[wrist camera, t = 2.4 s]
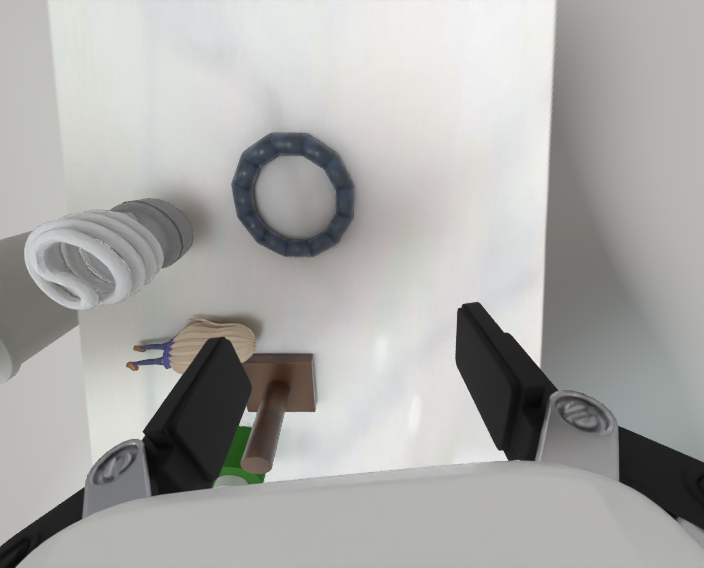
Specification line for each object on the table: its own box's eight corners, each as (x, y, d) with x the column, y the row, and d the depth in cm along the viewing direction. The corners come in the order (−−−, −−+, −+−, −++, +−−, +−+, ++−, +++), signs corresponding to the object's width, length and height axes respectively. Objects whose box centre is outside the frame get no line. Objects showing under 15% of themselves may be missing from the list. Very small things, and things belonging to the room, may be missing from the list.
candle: (245, 419, 38) (215, 502, 30) (283, 446, 42) (266, 528, 33) (206, 439, 41) (167, 522, 32) (245, 463, 44) (219, 544, 35)
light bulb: (135, 193, 23) (-40, 235, 13) (196, 185, 23) (70, 221, 13) (164, 252, 26) (39, 328, 16) (219, 246, 26) (130, 318, 15)
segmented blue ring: (248, 252, 26) (242, 258, 25) (226, 131, 21) (217, 131, 20) (352, 253, 26) (353, 260, 25) (355, 134, 22) (355, 133, 20)
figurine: (136, 386, 30) (259, 375, 28) (100, 377, 27) (238, 364, 25) (154, 338, 33) (266, 325, 32) (124, 324, 30) (248, 308, 28)
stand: (251, 402, 37) (219, 490, 28) (239, 353, 32) (196, 438, 23) (316, 402, 37) (306, 489, 28) (313, 353, 33) (299, 437, 23)
